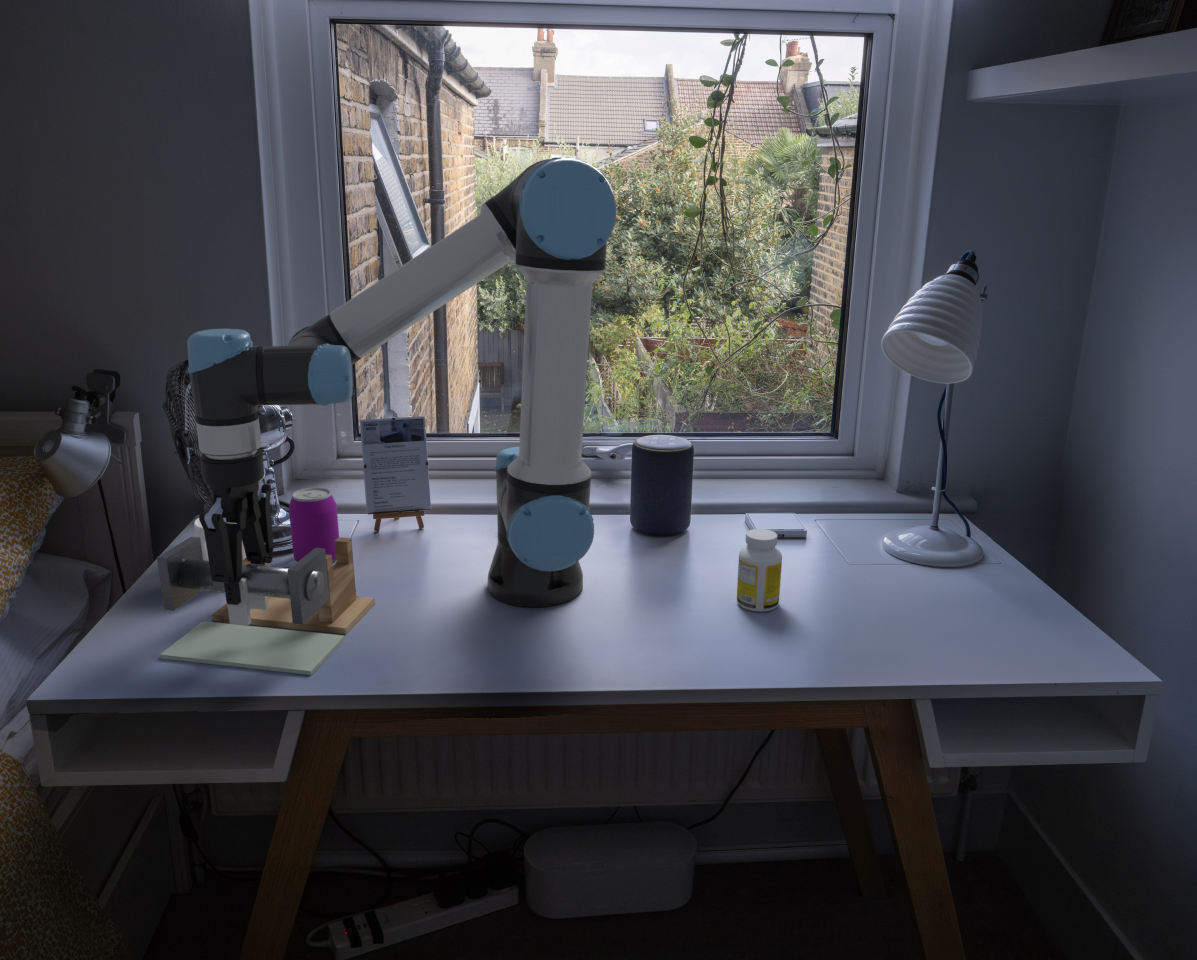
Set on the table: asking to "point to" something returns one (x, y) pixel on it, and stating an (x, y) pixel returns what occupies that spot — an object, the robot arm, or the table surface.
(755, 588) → the pill bottle
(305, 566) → the rod
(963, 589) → the table surface
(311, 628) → the cradle
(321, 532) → the beverage can
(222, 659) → the mat
